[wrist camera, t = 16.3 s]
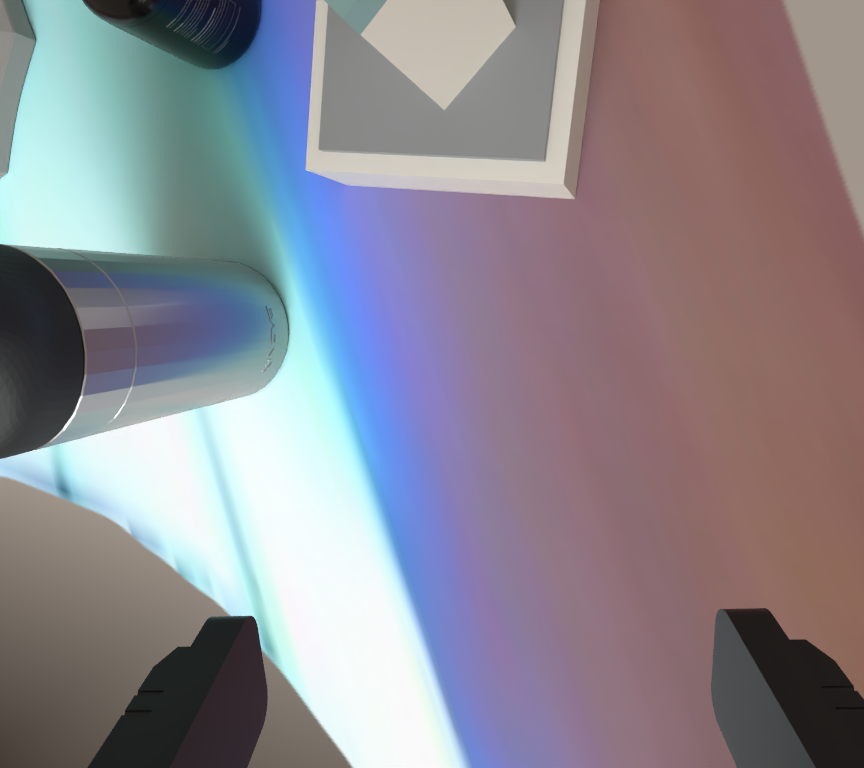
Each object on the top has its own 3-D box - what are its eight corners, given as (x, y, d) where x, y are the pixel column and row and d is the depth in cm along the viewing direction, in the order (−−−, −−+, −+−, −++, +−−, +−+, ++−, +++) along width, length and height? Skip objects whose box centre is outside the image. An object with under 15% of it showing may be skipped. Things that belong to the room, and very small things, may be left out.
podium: (348, 185, 43) (300, 168, 37) (366, -59, 40) (318, -119, 34) (575, 199, 39) (562, 182, 33) (608, -71, 36) (601, -141, 31)
